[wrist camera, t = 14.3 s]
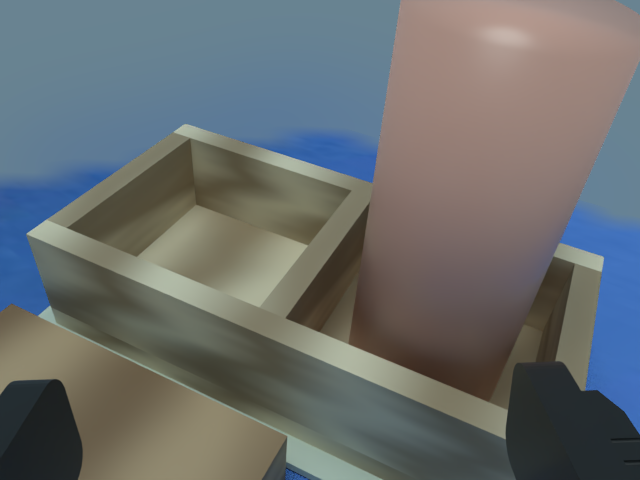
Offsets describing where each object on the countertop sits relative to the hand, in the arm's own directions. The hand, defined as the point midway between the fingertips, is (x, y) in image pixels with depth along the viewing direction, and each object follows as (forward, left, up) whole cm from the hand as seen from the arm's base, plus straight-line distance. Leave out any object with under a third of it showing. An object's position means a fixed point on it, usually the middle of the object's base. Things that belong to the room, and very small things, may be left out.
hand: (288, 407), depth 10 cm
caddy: (-4, +10, -10) cm, 15 cm away
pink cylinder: (+1, +10, -9) cm, 14 cm away
